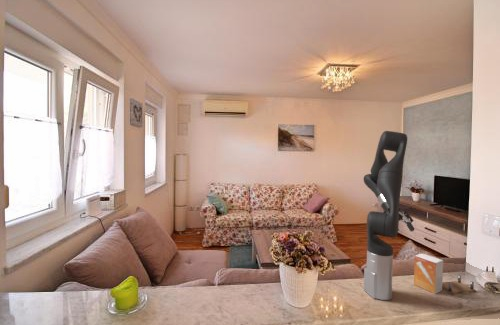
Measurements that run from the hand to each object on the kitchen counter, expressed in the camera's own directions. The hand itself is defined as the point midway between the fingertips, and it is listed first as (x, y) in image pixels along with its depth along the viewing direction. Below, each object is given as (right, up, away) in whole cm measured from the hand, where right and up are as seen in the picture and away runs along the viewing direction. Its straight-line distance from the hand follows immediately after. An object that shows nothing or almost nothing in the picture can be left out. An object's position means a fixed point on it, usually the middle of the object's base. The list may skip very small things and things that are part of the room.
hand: (405, 231), depth 111 cm
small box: (+1, -21, -13) cm, 24 cm away
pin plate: (+13, -21, -13) cm, 28 cm away
